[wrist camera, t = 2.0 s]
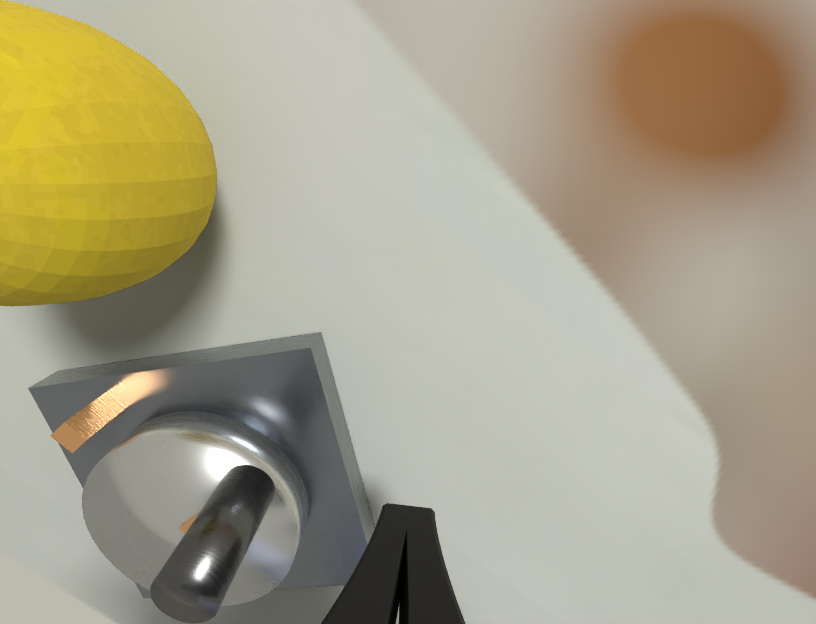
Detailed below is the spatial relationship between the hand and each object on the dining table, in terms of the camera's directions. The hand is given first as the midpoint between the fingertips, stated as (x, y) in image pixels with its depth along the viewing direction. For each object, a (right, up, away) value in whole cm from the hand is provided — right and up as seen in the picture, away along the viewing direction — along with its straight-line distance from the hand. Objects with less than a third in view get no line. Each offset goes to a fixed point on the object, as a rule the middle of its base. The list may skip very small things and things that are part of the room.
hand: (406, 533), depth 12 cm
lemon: (-7, +11, +1) cm, 13 cm away
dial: (-7, 0, +3) cm, 8 cm away
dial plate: (-7, 0, +5) cm, 8 cm away
